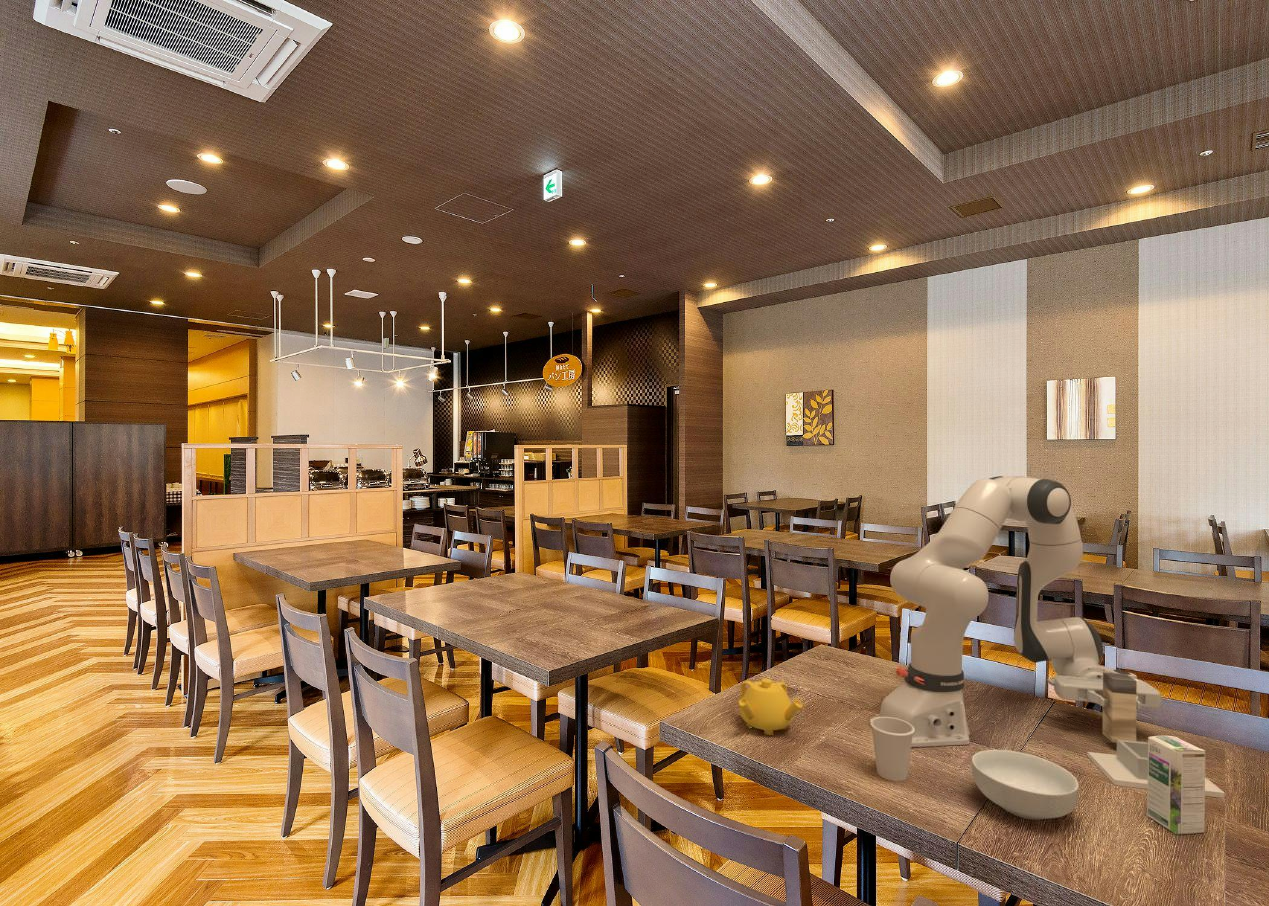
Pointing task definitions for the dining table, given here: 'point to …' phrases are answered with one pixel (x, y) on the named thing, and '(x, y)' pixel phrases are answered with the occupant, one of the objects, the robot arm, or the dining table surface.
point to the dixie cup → (892, 747)
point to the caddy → (1134, 767)
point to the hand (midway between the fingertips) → (1121, 704)
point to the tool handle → (1119, 707)
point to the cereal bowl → (1025, 784)
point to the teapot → (767, 705)
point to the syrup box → (1176, 784)
